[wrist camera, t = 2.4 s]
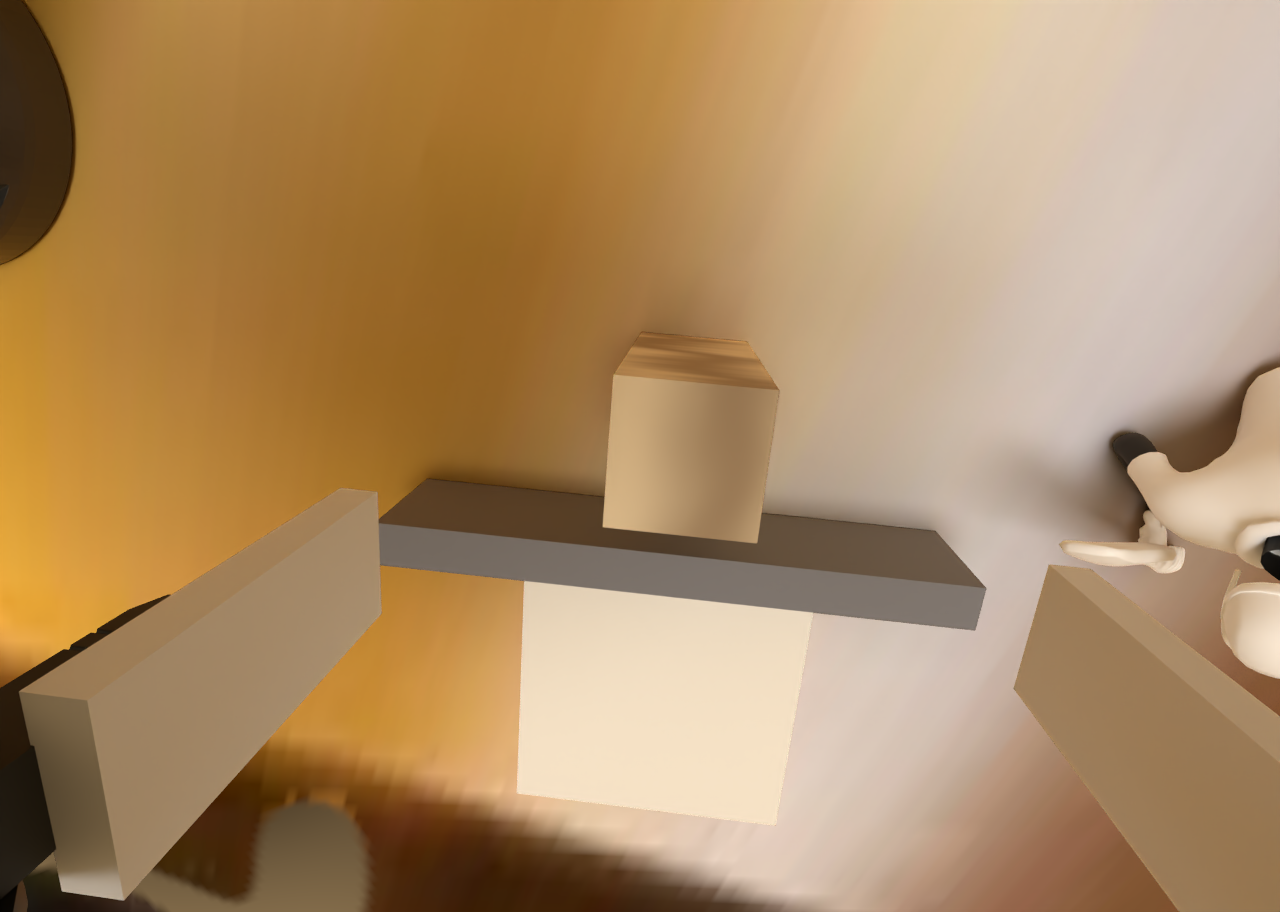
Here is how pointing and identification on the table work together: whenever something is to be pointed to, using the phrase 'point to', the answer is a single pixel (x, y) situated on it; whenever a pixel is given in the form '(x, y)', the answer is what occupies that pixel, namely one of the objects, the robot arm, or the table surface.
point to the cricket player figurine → (1215, 520)
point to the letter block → (689, 438)
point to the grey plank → (682, 556)
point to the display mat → (658, 701)
